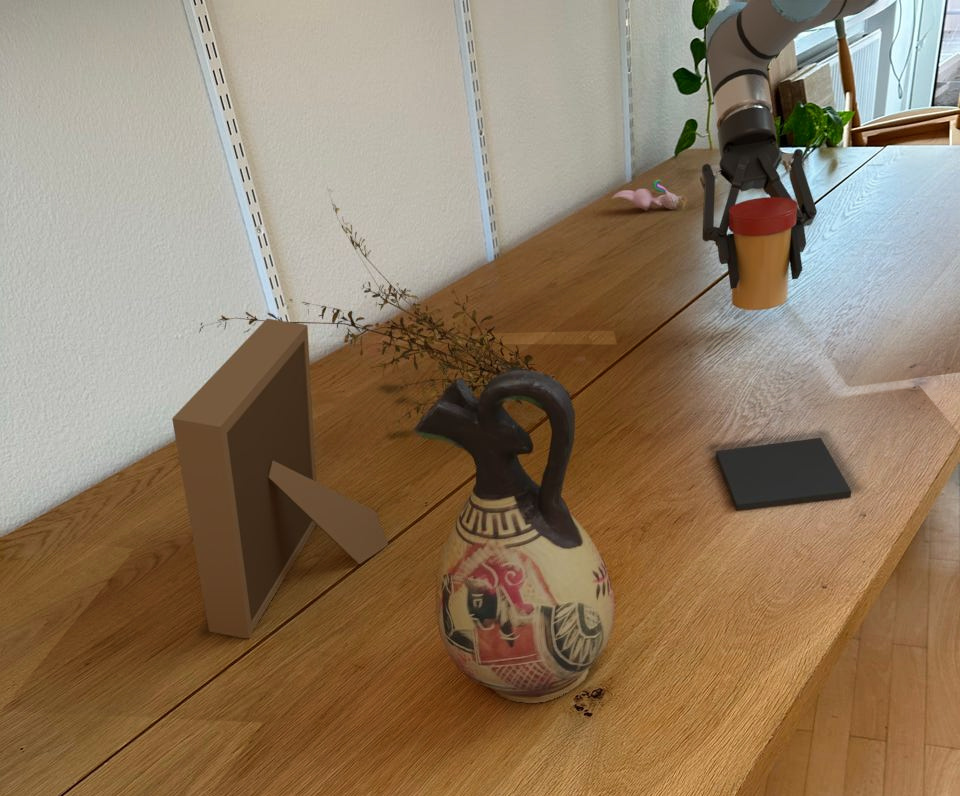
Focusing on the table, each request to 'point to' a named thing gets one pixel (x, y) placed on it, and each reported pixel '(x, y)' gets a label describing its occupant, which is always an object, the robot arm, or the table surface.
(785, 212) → the lid
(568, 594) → the ceramic jug
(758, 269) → the jar
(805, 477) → the mat
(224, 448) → the photo frame
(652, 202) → the pink toy figure
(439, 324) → the dried plant
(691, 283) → the table surface
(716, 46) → the robot arm
